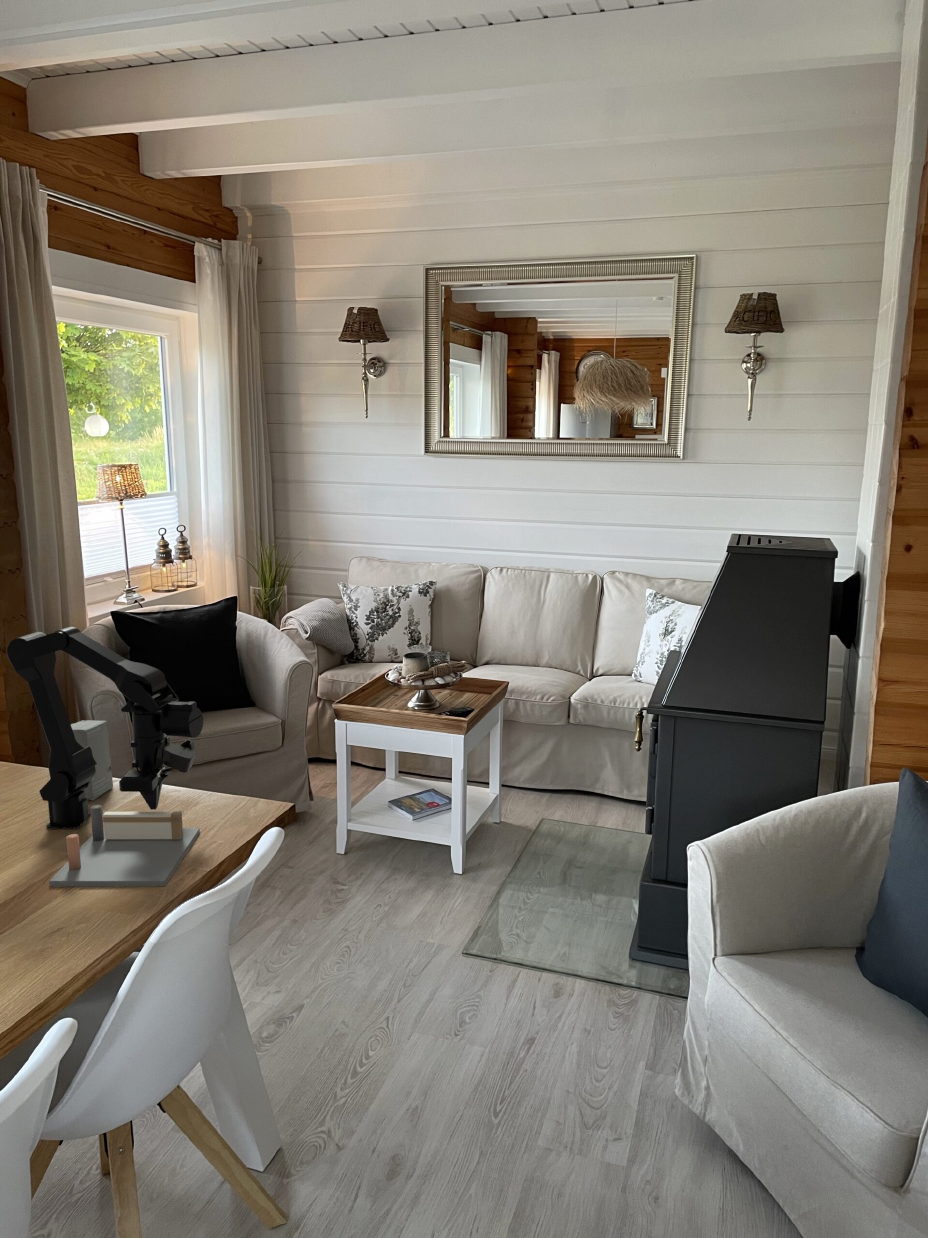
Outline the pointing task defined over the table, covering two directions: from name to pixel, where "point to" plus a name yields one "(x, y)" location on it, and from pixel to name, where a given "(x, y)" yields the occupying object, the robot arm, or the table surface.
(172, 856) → the board
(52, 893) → the table surface
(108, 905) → the table surface
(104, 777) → the skincare box
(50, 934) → the table surface
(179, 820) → the gate
